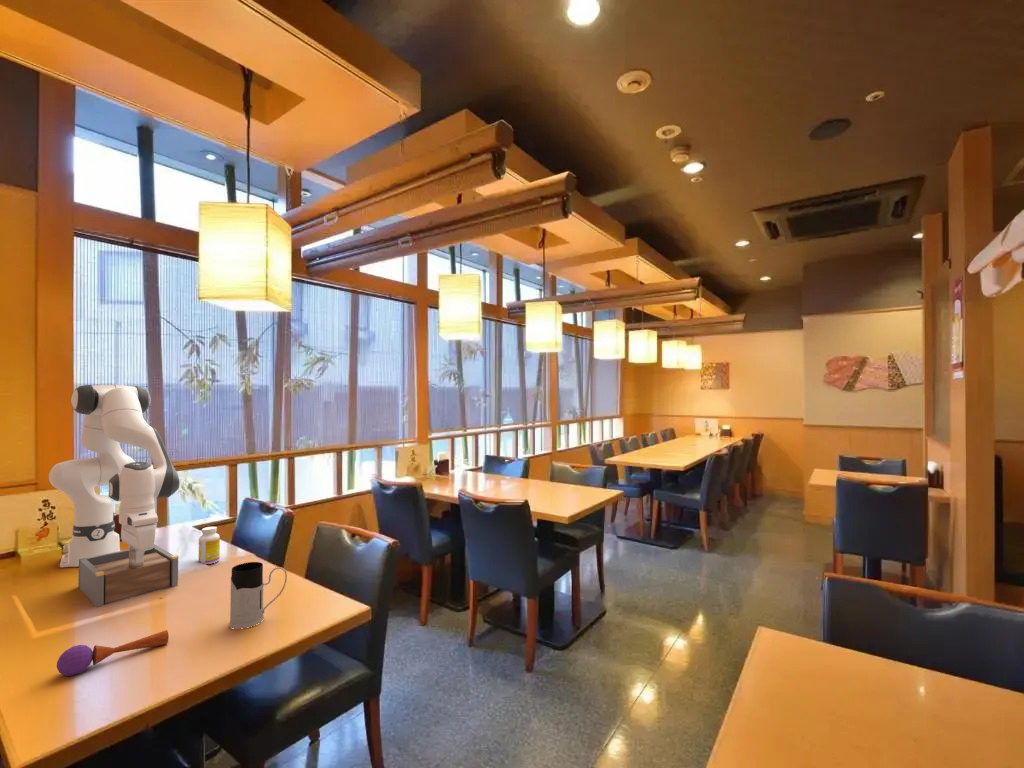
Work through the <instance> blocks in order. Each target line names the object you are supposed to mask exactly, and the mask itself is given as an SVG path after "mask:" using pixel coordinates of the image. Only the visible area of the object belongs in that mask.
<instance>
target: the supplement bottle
mask: <svg viewBox="0 0 1024 768" xmlns="http://www.w3.org/2000/svg"><path fill="white" fill-rule="evenodd" d="M217 529H218V527H217V526H207V527H204V528H202V529H201V533H202V534H201V535H200V536H199V537H198V562H199V563H201V564H203V565H205V564H211V563H214V562H217V561H218V562H220V553H221V552H220V547H221V544H220V542H221V541H220V538H221V537H220V534H219V533H217ZM218 562H217V563H218ZM214 564H215V563H214ZM211 565H212V564H211Z"/></svg>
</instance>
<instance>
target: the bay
mask: <svg viewBox="0 0 1024 768" xmlns="http://www.w3.org/2000/svg"><path fill="white" fill-rule="evenodd" d="M155 552H156V553H158V554H159V555H161V556H163V557H164V558H166V559H168V560H169V561H170V586H169V587H165V588H161V589H157V590H153V591H150V592H146V593H142V594H138V595H135V596H131V597H127V598H123V599H119V600H116V601H112V602H108V603H104V572H103V571H101V572H100V571H99V570H98V569H97V568H96V567H95V565H99V564H104V563H109V562H113V561H118V560H123V559H127V558H129V548H128V549H123V550H121V551H118V552H113V553H108V554H103V555H98V556H93V557H88V558H83V559H79V567H78V579H77V581H78V584H77V585H78V586H77V587H78V589H79V590H80V591H81V592H82V593H83V595H84V596H85V597H87V599H88V600H89V601H90V602H91V603H92V604H93V605H94V606H95V607H96V608H99V607H100V608H101V607H103V606H107V605H111V604H115V603H118V602H122V601H126V600H129V599H133V598H136V597H140V596H144V595H148V594H152V593H155V592H159V591H163V590H167V589H171V588H174V587H177V586H179V582H178V581H179V555H177V554H173V553H170V552H169V551H167V550H166V549H163V548H162V547H160V546H159V545H157V544H155V543H154V546H153V549H151V550H147V551H145V552H144V555H146V554H151V553H155Z"/></svg>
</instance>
